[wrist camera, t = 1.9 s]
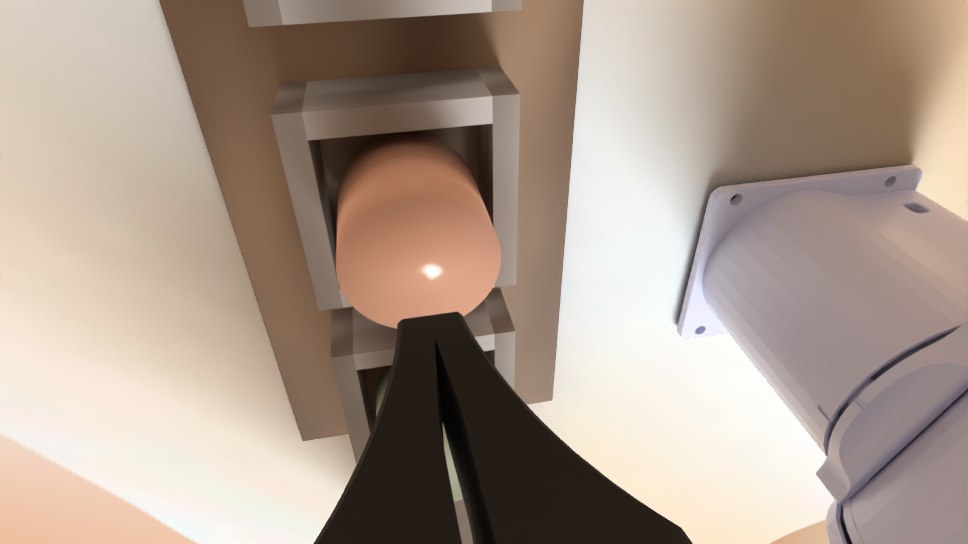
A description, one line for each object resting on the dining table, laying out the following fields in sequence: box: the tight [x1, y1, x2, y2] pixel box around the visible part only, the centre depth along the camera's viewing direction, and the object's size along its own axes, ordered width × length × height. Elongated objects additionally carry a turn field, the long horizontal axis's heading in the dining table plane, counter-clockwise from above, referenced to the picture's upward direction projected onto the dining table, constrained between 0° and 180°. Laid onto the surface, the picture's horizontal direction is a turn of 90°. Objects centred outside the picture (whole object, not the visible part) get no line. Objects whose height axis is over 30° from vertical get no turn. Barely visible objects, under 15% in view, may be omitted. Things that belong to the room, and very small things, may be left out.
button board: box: [159, 0, 584, 464], centre depth 19 cm, size 12×26×3 cm, turn 0°
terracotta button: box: [336, 134, 501, 328], centre depth 17 cm, size 4×4×4 cm
